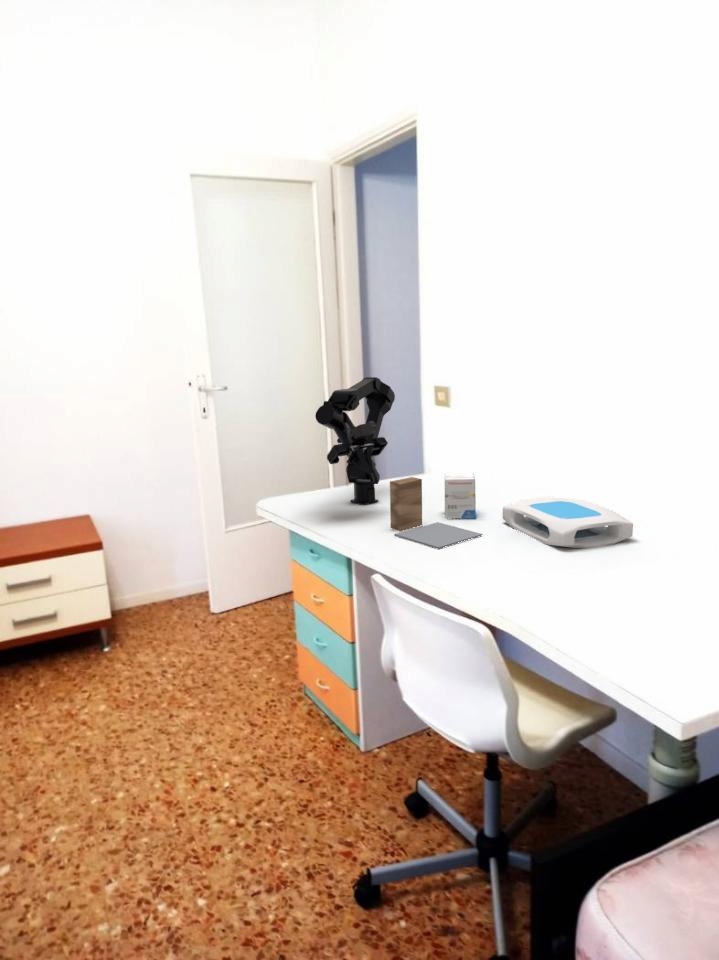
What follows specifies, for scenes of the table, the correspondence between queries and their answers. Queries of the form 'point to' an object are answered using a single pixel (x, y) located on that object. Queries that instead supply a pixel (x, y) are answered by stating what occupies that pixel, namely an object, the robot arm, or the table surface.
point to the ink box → (460, 495)
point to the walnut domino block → (406, 503)
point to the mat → (437, 535)
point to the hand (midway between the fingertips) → (372, 473)
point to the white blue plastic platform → (567, 521)
